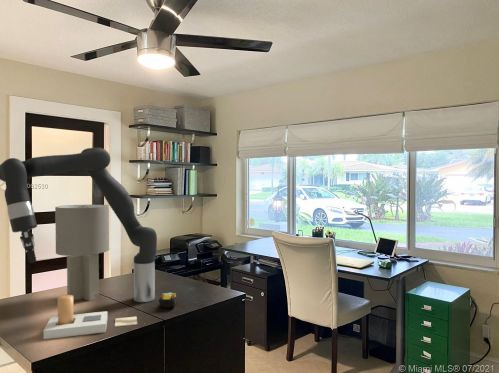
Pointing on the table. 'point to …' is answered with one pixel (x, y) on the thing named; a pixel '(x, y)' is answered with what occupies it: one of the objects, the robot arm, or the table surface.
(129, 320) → the pad
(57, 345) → the table surface
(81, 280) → the lamp
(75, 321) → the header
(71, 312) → the plug
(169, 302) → the pot of gold
